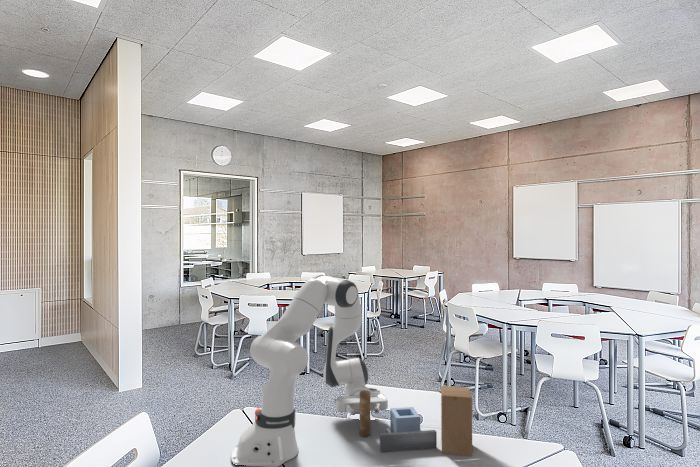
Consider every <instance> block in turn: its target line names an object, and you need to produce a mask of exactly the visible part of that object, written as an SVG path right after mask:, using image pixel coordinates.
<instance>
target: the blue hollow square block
mask: <svg viewBox="0 0 700 467" xmlns="http://www.w3.org/2000/svg"><path fill="white" fill-rule="evenodd" d="M389 409H390V415H389V416H390V423H389V424H390V427H389V428H390V430H391V432H392V433H397V432H412V431H420V430H421V416H420V415H419V413H418V412H417V410H416V409H415V407H414V406H408V407H407V406H406V407H405V406H404V407H390V408H389Z"/></svg>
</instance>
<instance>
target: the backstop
mask: <svg viewBox="0 0 700 467" xmlns="http://www.w3.org/2000/svg"><path fill="white" fill-rule="evenodd" d="M385 430H386V432H383V433H379V452H380V453H382V454H383V453H392V452H407V451H409V452H410V451H419V450H420V451H421V450H422V451H423V450H434V449H437V446H438V445H437V443H438V442H437V439H438V438H437V437H438V436H437V432H438V431H436V430H435V429H431V430H430V429H428V430H421V429H420V431H412V432H397V433H392V431H391V429H390V427H387V428H386V429H385Z"/></svg>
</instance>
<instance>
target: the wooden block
mask: <svg viewBox="0 0 700 467" xmlns="http://www.w3.org/2000/svg"><path fill="white" fill-rule="evenodd" d="M440 394H441V396H440V406H441V407H440V408H441V410H440V411H441V413H440V415H441V416H440V417H441V419H440V422H441V423H440V427H441V428H440V429H441V430H440V431H441V433H440V434H441V439H440V440H441V453H442V454H444V455H453V456H462V457H463V456H465V457H473V397H472V394H471V390H470V387H465V386H464V387H462V386H449V385H448V386H447V385H441V387H440Z"/></svg>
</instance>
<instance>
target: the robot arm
mask: <svg viewBox="0 0 700 467" xmlns="http://www.w3.org/2000/svg"><path fill="white" fill-rule="evenodd" d="M324 304H325V305H328V306H332V307H334V317H335V318H334V322H333V324H332V325H331V326H330V327H329V328H328V331H327V336H326V348H325V359H324V366H323V371H322V372H323V373H322V374H323V380H324V383H325V384H326V385H327V386H329V387H331V388H334V387H335V388H336V387H338V386H340V385H341V386H342V385H344V391H345V395H346V396H345V395H344V396H343V395H341V396H338V397H336V399H334V400H333V403H334V405H335V408H336V412H338V413H349V414H350V415H355V412H360V391H364V390H366V391H370V412H371V411H374V413H375V414H380V411H386V410H388V406H389V401H388V398H387V397H386V395H384V394H383V393H382V392H381V390H380V389H379V388H374V387H373V388H372V387H368V386H367V384H368V381H369V372H368V368H367V364H366V363H365V361H364V360H363V359H361V358H360V357H354V358H353V357H352V358H348V359H343V360H336V358H337V357H336V356H337V354H336V353H337V347H338V345H339V344H340V343H341V342H342V341H344V340H345V339H347V338H349V337H351V336H353V335H355V333H357V332H358V331H359V329H360V328H361V326H362V322H363V320H362V319H363V317H362V316H363V315H362V307H361V300H360V296H359V290H358V287H357V285H356V283H354V282H353V281H351V280H348V279H343V278H340V277H336V276H331V275H322V274H319V275H315V276H313V277H312V278H309V279H308V280H306V281H305V282H304V283H303V284H302V286H301V287H300V288H299V289H298V290H297V292H296V293H295V295H294V297H293V298H292V299H291V302H290V303H289V304H288V306H287V308H286V310H284V313H283V314H282V315H281V316H280V318H279V319H278V320H277V321H276V322H275V324H273V325H272V327H270V328H269V329H268V330H267V331H266V332H265V333H263V334H261V335H259V336H257V337H256V338H254V339H253V341H252V342H251V344H250V348H249V354H250V357H251V359H252V360H254V362H255V363H257V364H258V365H260V366H261V367H262V368H265V369H268V370H269V376H268V377H269V378H268V381H267V382H266V383H265V384H264V385H262V386H263V387H262V388H261V399H260V400H261V402H260V404H261V408H259V407H257V408H256V409H255V412H254V415H255V416H254V422H253V423H252V424H251V425H249V427H248V428H246V429H244V430H243V432H242V433H241V435H240V437H239V439H238V443H237V444H236V445H235V446H234V447H233V448H232V451H231V453H230V454H231V455H230V462H231V461H232V462H233V463H234V464H237V465H244V466H243V467H280V466H282V464H284V463H285V462H289V461H290V460H291V459H293V458H295V457H296V456H297V455H298V453H299V447H298V442H297V438H296V430H295V427H296V409H295V406H294V405H295V387H296V382H297V380H298V377H299V376H300V374H302V373H303V371H305V369H306V367H307V365H308V361H309V355H308V354H309V353H308V351H307V350H306V348H305V347H303V346H302V345H301V344H299V343H298V342H296V341H297V340H298V339H300V338H301V337H303V336H306V334H308V333H309V332H310V331H311V328H312V327H313V325H314V323H315V322H316V320H317V318H318V316H319V314H320V312H321V310H322V309H323V307H324ZM232 462H231V463H232ZM245 465H246V466H245Z"/></svg>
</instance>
